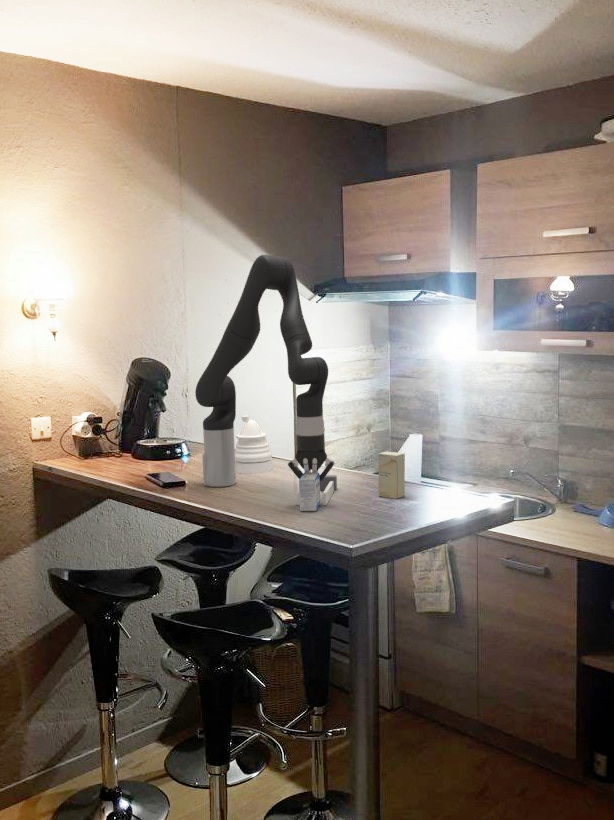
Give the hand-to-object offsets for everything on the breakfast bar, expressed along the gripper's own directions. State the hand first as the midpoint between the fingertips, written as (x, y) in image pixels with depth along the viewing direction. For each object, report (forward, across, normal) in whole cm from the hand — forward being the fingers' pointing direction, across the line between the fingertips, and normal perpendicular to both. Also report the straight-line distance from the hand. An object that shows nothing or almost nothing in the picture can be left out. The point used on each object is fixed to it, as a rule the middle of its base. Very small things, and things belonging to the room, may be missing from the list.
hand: (312, 495), depth 227 cm
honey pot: (+4, -27, +48) cm, 55 cm away
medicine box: (+2, 0, -5) cm, 5 cm away
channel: (+2, 0, +9) cm, 9 cm away
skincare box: (+3, +21, +9) cm, 23 cm away
